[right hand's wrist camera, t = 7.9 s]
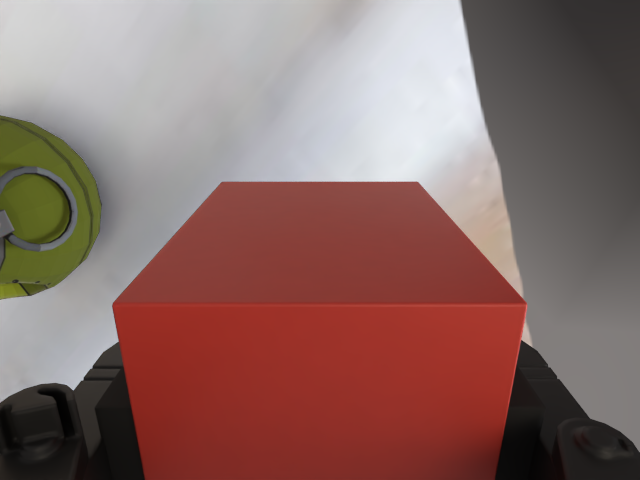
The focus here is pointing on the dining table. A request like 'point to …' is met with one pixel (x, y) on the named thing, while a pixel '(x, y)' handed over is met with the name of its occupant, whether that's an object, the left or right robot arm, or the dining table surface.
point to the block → (319, 339)
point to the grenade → (42, 209)
